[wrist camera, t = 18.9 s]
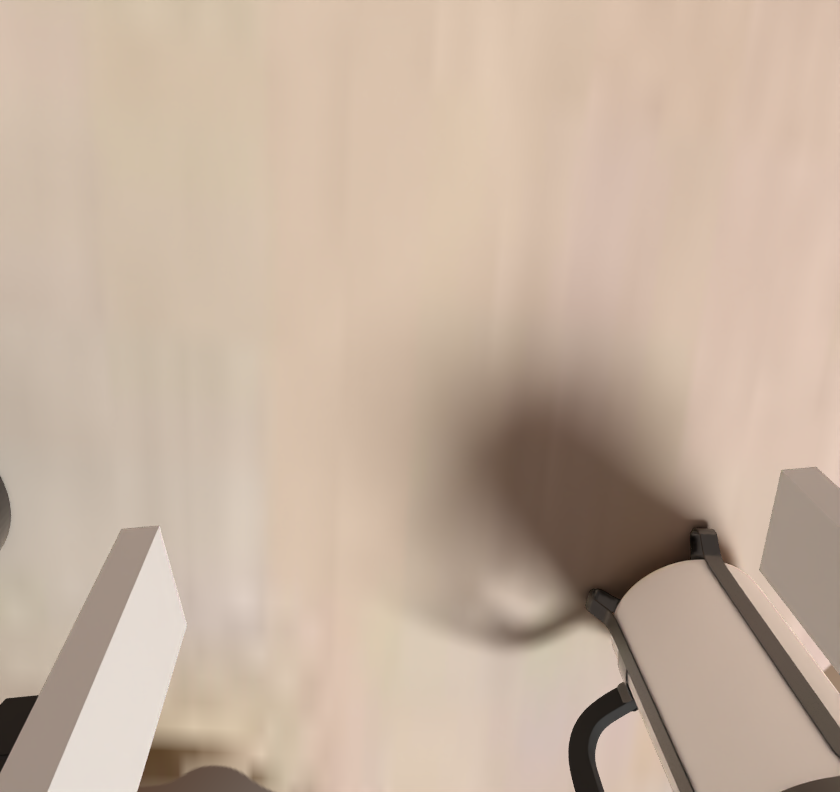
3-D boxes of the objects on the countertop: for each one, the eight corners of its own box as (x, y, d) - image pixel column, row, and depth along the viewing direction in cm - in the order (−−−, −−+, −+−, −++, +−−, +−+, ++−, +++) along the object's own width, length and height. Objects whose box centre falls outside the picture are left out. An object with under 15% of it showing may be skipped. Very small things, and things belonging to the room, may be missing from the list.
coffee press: (604, 510, 51) (877, 1022, 24) (796, 536, 53) (1234, 1025, 27) (537, 676, 58) (689, 1210, 31) (709, 692, 61) (984, 1197, 34)
